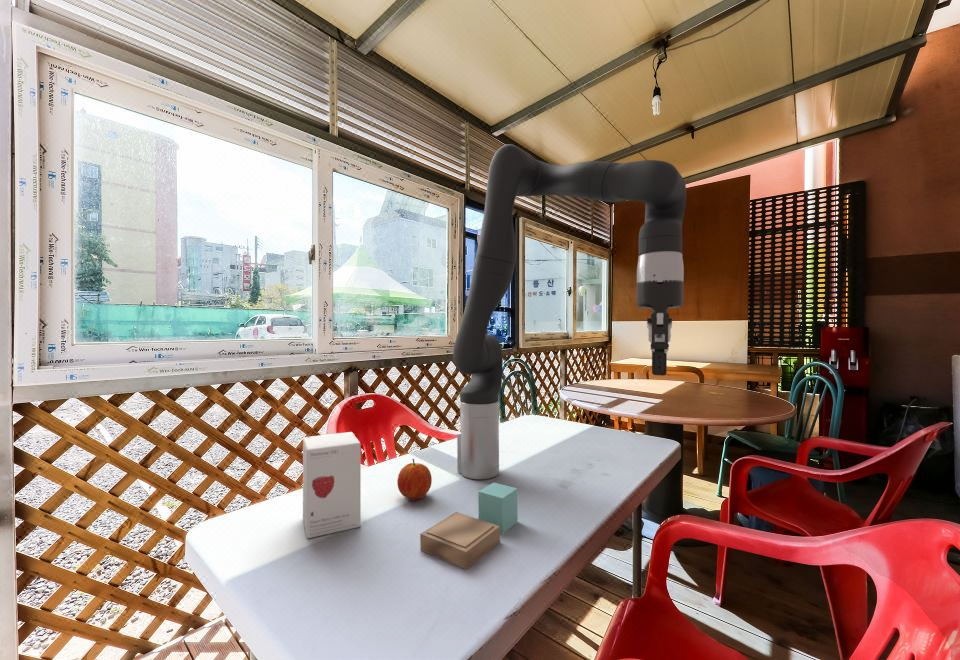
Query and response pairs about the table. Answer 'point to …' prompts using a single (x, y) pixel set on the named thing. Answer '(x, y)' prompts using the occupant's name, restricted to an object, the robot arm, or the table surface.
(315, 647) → the table surface
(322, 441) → the supplement box
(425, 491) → the fruit
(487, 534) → the walnut base
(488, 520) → the teal block
